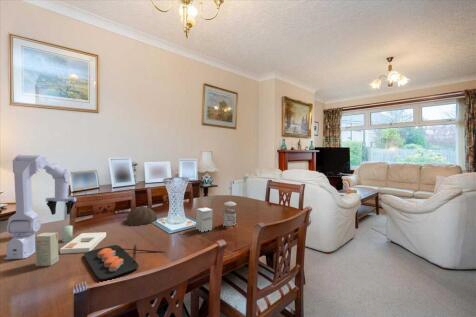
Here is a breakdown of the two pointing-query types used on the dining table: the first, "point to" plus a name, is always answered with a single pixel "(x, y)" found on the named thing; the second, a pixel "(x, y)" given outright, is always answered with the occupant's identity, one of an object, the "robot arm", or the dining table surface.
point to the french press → (231, 211)
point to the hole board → (83, 243)
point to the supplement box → (204, 219)
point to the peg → (67, 233)
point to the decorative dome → (141, 216)
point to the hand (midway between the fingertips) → (61, 214)
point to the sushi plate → (111, 261)
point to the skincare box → (46, 249)
